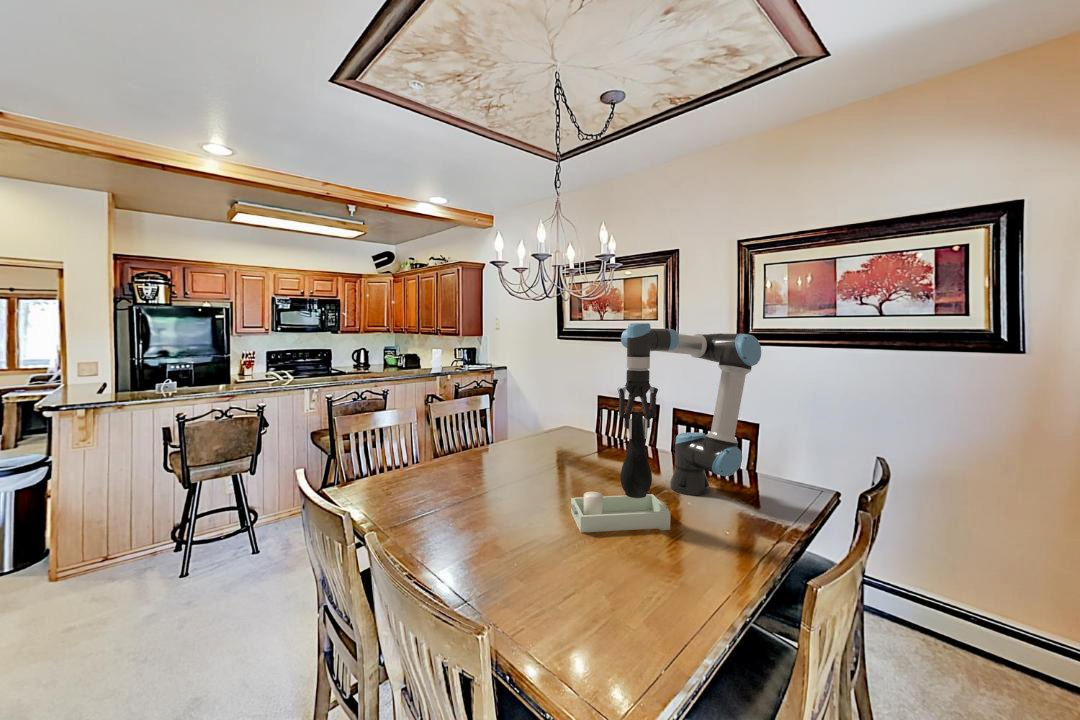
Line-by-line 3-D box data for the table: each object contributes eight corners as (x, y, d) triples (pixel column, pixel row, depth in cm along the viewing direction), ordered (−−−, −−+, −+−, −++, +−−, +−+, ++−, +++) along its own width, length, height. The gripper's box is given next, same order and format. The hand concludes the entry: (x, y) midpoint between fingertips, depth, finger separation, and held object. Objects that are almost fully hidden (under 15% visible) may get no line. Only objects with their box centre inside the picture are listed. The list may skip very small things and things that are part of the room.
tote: (655, 510, 166) (655, 494, 165) (673, 529, 150) (673, 512, 149) (568, 514, 162) (568, 498, 161) (577, 535, 146) (577, 516, 146)
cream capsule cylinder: (599, 516, 158) (600, 491, 158) (604, 524, 152) (604, 498, 151) (581, 517, 158) (581, 492, 157) (585, 525, 151) (586, 499, 151)
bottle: (652, 501, 150) (654, 411, 147) (619, 498, 152) (620, 409, 149) (651, 489, 160) (652, 405, 158) (620, 487, 162) (621, 404, 160)
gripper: (659, 367, 157) (657, 434, 159) (609, 368, 155) (608, 435, 157) (667, 370, 150) (666, 439, 152) (615, 370, 148) (614, 441, 149)
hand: (636, 437), depth 154 cm, fingers closed on bottle, 5 cm apart
